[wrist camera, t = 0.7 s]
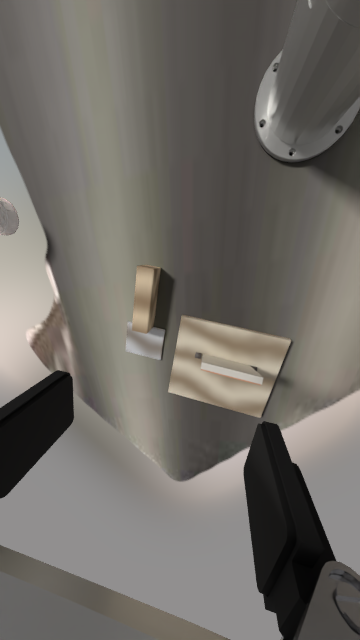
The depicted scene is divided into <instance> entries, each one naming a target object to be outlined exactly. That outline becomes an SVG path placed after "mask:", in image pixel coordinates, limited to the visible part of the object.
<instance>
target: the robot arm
mask: <svg viewBox="0 0 360 640" xmlns="http://www.w3.org/2000/svg"><path fill="white" fill-rule="evenodd" d="M274 71H275V72H274ZM359 109H360V0H298V1H297V4H296V7H295V11H294V14H293V18H292V21H291V24H290V28H289V31H288V34H287V38H286V41H285V45H284V48H283V50H282V51H281V52H280V53H279V54H278V56H277V57H276V58H275V59H274V60H273V62H272V63H271V65H270V66H269V68H268V70H267V71H266V73H265V75H264V77H263V80H262V82H261V84H260V87H259V91H258V94H257V98H256V103H255V109H254V125H255V131H256V134H257V138H258V140H259V142H260V144H261V146H262V147H263V148H264V149H265V151H266V152H267V153H268V154H270V155H271V156H272V157H274V158H276V159H278V160H281V161H286V162H301V161H304V160H308V159H311V158H313V157H315V156H317V155H319V154H321V153H322V152H324V151H325V150H327V149H328V148H329V147H331V146H332V145H333V144H334V143H335V142H336V141H337V140H338V139H339V138H340V137H341V136H342V135H343V134H344V133H345V131H346V130H347V129H348V127H349V126H350V125H351V123H352V122H353V120H354V118H355V116H356V115H357V113H358V111H359ZM261 125H262V126H263V127H262V128H261V127H260V126H261ZM335 132H337V134H336V133H335ZM289 153H291V154H292V156H290V155H289ZM73 419H74V411H73V379H72V377H71V376H70V373H68V372H64V371H59V370H58V371H55V372H54V373H52V374H51V375H49V376H48V377H46V378H45V379H43V380H42V381H40V382H39V383H37V384H36V385H34V386H33V387H31V388H30V389H28V390H27V391H25V392H24V393H22V394H21V395H19V396H18V397H16V398H15V399H13V400H12V401H10V402H9V403H7V404H6V405H4V406H3V407H2V408H0V498H3V497H5V496H6V495H7V494H8V493H9V492H10V491H11V490H12V489H13V488H14V487H15V486H16V484H17V483H18V482H19V481H20V480H21V479H22V478H23V477H24V476H25V475H26V473H27V472H28V471H29V470H30V469H31V468H32V467H33V466H34V465H35V464H36V462H37V461H38V460H39V459H40V458H41V457H42V456H43V455H44V454H45V453H46V451H47V450H48V449H49V448H50V447H51V446H52V445H53V444H54V443H55V442H56V440H57V439H58V438H59V437H60V436H61V435H62V434H63V433H64V431H66V430H67V428H68V427H69V426H70V425H71V424H72V422H73ZM244 481H245V490H246V497H247V506H248V515H249V523H250V531H251V540H252V547H253V555H254V565H255V573H256V581H257V587H258V590H259V592H260V593H262V594H263V596H264V603H265V609H266V610H269V611H271V612H274V613H276V615H277V621H278V627H279V631H280V632H281V634H282V637H281V640H360V576H359V575H358V574H357V573H356V572H355V571H353V570H352V569H351V568H350V567H348V566H346V565H344V564H343V563H341V562H337V561H336V559H335V557H334V554H333V551H332V549H331V546H330V544H329V541H328V539H327V536H326V534H325V531H324V529H323V526H322V524H321V521H320V519H319V516H318V514H317V511H316V509H315V506H314V504H313V501H312V498H311V496H310V493H309V491H308V488H307V486H306V483H305V481H304V478H303V476H302V473H301V471H300V469H299V467H298V466H297V464H294V463H292V461H291V459H290V456H289V453H288V450H287V448H286V445H285V442H284V439H283V437H282V434H281V431H280V429H279V426H278V425H277V424H273V423H269V422H265V421H263V423H262V424H258V426H257V429H256V432H255V435H254V438H253V441H252V444H251V447H250V450H249V453H248V456H247V459H246V462H245V465H244ZM0 640H230V639H228V638H225V637H223V636H221V635H218V634H216V633H214V632H212V631H209V630H207V629H205V628H202V627H200V626H198V625H196V624H193V623H191V622H188V621H186V620H184V619H181V618H179V617H176V616H174V615H172V614H169V613H167V612H164V611H162V610H159V609H157V608H155V607H152V606H150V605H147V604H145V603H142V602H140V601H137V600H135V599H132V598H130V597H128V596H125V595H123V594H120V593H118V592H115V591H113V590H111V589H108V588H106V587H103V586H101V585H98V584H96V583H93V582H91V581H88V580H86V579H83V578H81V577H78V576H76V575H73V574H71V573H68V572H66V571H64V570H61V569H58V568H56V567H54V566H51V565H49V564H46V563H44V562H41V561H39V560H36V559H33V558H31V557H29V556H26V555H24V554H21V553H19V552H16V551H13V550H11V549H8V548H6V547H3V546H1V545H0Z"/></svg>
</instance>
